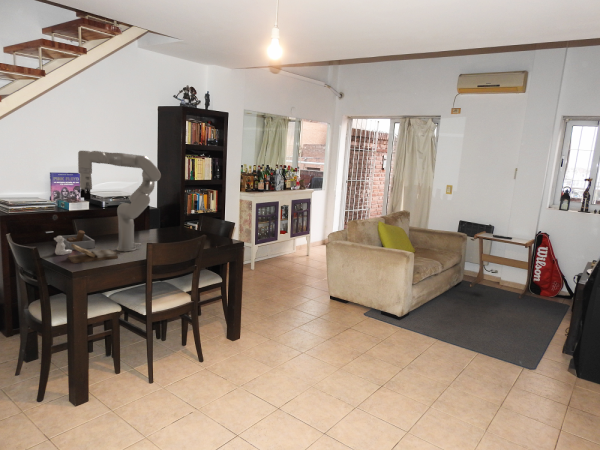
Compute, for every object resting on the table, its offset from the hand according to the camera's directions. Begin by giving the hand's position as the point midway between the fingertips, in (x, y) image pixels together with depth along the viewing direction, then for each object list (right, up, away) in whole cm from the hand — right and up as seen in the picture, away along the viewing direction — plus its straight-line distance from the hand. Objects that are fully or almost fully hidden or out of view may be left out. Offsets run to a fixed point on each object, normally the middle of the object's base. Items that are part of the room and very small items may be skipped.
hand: (85, 198), depth 267 cm
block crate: (-19, -31, +27) cm, 45 cm away
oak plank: (+2, -33, -7) cm, 33 cm away
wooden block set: (-19, -31, +27) cm, 45 cm away
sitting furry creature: (-16, -35, +3) cm, 39 cm away
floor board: (+6, -37, -3) cm, 37 cm away
